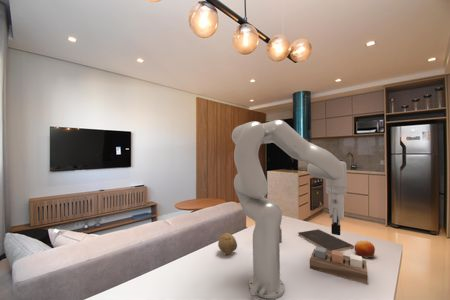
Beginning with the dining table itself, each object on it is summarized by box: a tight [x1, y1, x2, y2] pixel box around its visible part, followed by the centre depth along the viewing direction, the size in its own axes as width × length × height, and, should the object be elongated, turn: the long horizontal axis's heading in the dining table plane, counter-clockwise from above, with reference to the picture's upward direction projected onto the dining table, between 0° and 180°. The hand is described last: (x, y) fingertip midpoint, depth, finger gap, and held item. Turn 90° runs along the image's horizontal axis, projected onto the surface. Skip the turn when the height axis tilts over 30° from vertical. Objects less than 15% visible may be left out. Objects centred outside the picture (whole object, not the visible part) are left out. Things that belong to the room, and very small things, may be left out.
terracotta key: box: [332, 250, 344, 264], centre depth 85 cm, size 4×4×3 cm
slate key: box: [314, 246, 326, 259], centre depth 88 cm, size 4×4×3 cm
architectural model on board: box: [279, 226, 283, 244], centre depth 109 cm, size 11×3×10 cm, turn 111°
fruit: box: [353, 240, 376, 259], centre depth 95 cm, size 8×8×8 cm
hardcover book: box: [297, 228, 355, 252], centre depth 111 cm, size 16×23×2 cm
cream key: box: [349, 253, 363, 269], centre depth 81 cm, size 4×4×3 cm
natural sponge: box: [217, 232, 238, 256], centre depth 97 cm, size 9×9×10 cm
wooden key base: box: [309, 248, 369, 285], centre depth 84 cm, size 12×20×4 cm, turn 57°
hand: (335, 234), depth 84 cm, fingers closed
